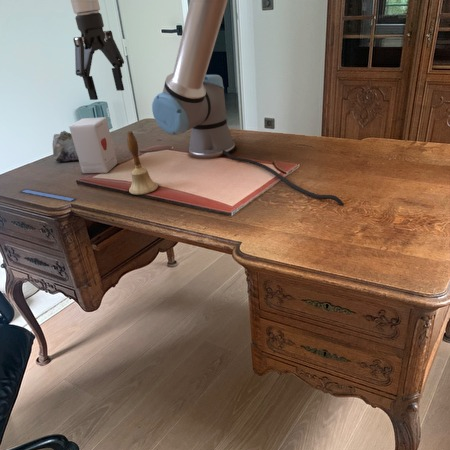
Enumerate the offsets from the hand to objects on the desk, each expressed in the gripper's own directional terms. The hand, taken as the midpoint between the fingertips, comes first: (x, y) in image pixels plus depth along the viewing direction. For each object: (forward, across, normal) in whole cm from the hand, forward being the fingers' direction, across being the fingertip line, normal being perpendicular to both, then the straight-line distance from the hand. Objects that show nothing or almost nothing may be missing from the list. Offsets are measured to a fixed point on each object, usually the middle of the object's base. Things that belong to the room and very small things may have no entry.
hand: (107, 94), depth 139 cm
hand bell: (+20, +20, +26) cm, 39 cm away
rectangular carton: (+20, +11, 0) cm, 23 cm away
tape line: (+20, +33, 0) cm, 39 cm away
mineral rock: (+20, +7, -17) cm, 27 cm away
